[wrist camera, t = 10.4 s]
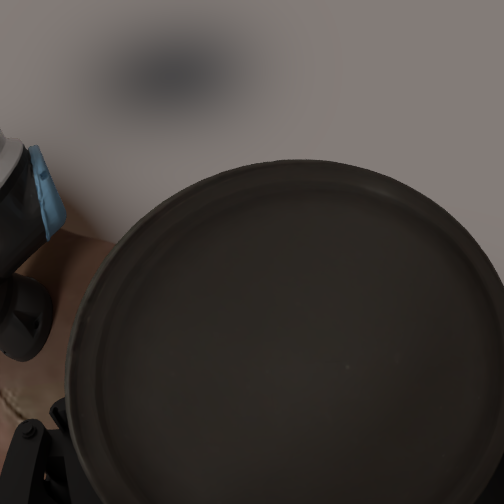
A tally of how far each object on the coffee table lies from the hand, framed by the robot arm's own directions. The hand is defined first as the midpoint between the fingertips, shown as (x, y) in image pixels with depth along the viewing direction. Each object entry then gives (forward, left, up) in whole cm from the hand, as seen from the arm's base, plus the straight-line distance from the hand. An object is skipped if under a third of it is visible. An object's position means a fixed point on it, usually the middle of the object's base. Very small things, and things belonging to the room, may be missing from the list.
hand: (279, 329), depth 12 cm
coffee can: (+3, -2, -6) cm, 7 cm away
